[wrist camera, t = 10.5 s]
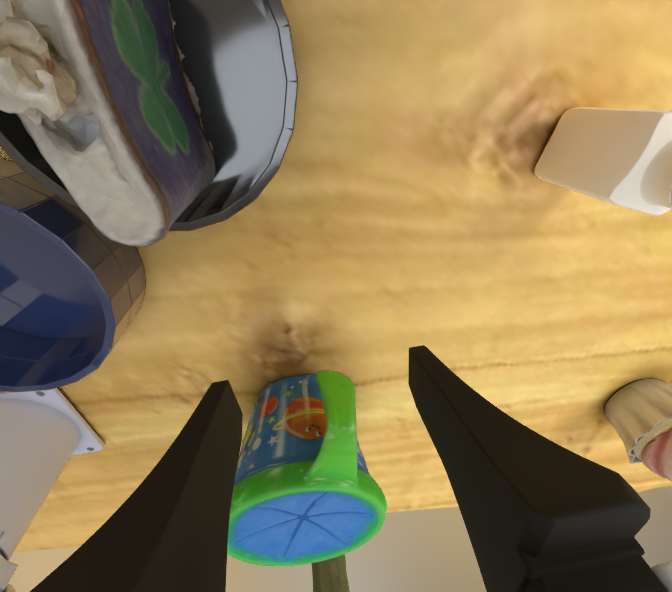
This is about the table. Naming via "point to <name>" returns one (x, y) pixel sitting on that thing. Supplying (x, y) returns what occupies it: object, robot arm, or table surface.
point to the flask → (108, 108)
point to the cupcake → (645, 423)
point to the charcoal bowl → (216, 103)
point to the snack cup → (303, 476)
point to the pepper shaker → (613, 156)
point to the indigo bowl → (58, 287)
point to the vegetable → (330, 575)
